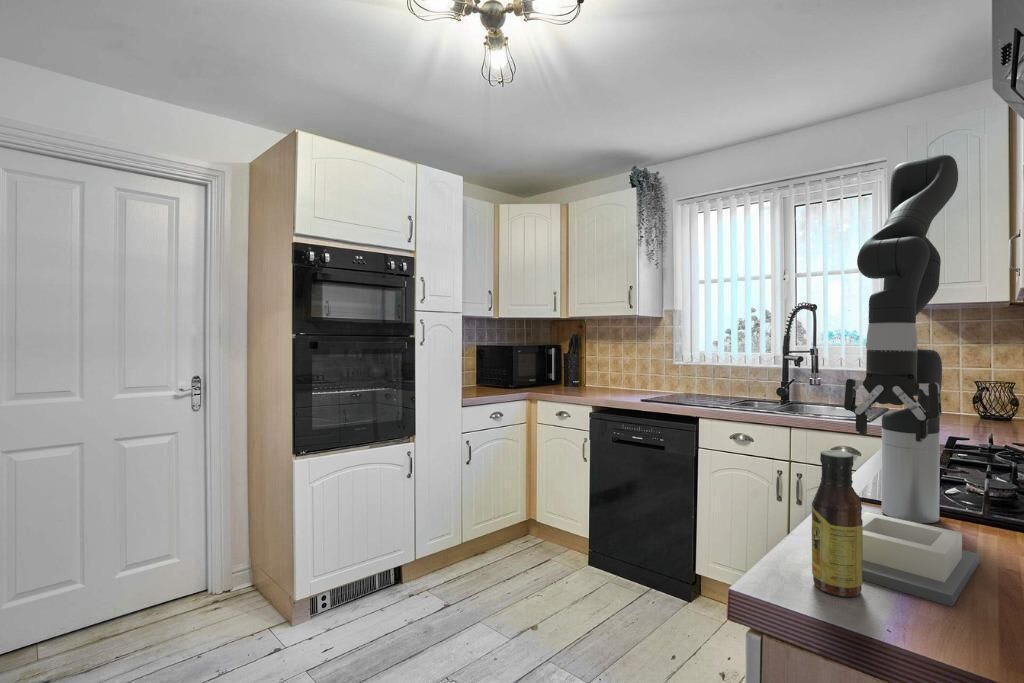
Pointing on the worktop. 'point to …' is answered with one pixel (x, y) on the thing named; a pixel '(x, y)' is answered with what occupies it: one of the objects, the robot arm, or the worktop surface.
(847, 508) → the sauce bottle
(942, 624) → the worktop surface
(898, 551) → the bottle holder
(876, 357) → the robot arm
